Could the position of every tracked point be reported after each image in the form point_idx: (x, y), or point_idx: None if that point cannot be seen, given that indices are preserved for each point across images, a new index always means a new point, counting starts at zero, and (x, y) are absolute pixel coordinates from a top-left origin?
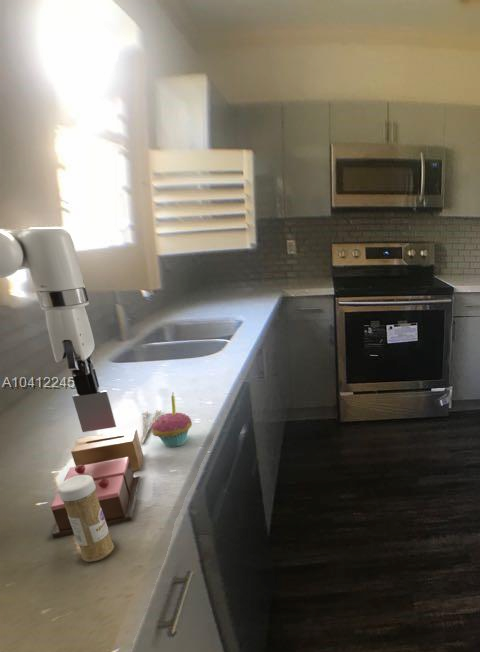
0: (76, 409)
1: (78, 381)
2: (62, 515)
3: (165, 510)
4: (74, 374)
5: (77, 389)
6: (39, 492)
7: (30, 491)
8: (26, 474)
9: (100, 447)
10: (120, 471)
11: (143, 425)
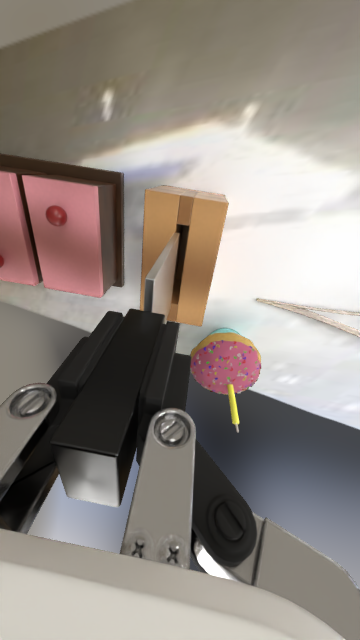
0: (160, 256)
1: (57, 371)
2: None
3: (32, 304)
4: (13, 404)
5: (100, 326)
6: (159, 87)
7: (175, 57)
8: (289, 13)
9: (142, 257)
10: (48, 283)
11: (331, 312)
